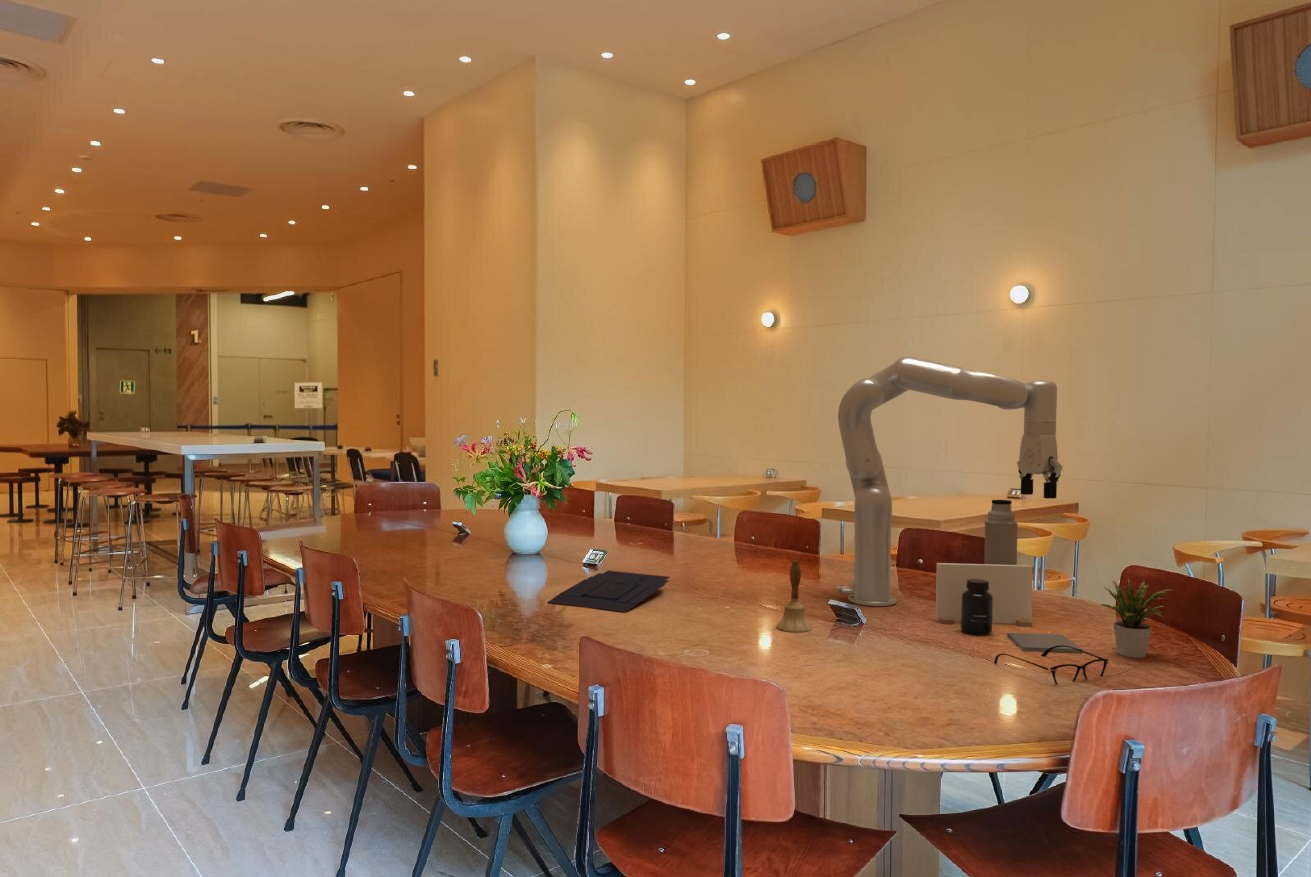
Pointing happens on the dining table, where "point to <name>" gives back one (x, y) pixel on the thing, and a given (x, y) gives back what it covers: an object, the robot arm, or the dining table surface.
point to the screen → (1004, 586)
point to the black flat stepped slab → (611, 590)
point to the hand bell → (794, 606)
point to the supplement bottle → (977, 608)
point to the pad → (1043, 642)
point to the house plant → (1133, 620)
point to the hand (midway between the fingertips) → (1038, 496)
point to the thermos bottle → (1001, 534)
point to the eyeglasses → (1064, 664)
